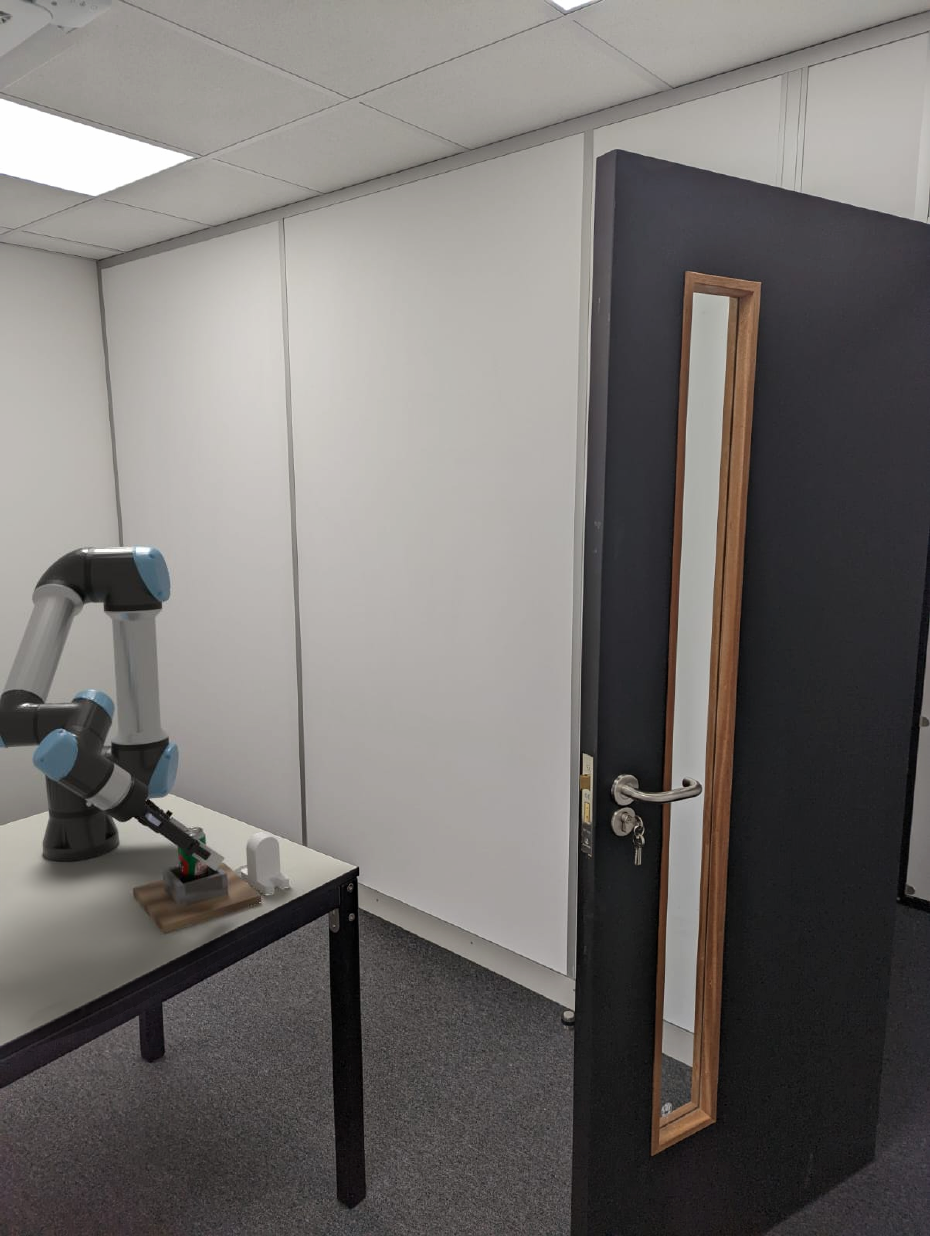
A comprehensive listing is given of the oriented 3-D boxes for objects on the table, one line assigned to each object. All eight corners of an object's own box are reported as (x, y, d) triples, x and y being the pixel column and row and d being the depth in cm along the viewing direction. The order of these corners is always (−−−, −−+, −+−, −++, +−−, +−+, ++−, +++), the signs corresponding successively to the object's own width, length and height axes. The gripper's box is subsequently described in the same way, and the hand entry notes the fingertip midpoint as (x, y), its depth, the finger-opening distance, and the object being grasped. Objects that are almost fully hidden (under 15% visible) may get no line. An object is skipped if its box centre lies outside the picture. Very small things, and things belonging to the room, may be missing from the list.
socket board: (133, 895, 165) (131, 868, 164) (223, 869, 176) (222, 843, 175) (164, 933, 151) (162, 904, 150) (261, 902, 162) (259, 875, 161)
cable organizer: (263, 871, 175) (261, 824, 173) (290, 887, 168) (288, 838, 166) (240, 879, 171) (237, 832, 170) (266, 896, 164) (264, 846, 163)
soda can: (201, 898, 160) (196, 837, 158) (176, 897, 161) (171, 835, 159) (214, 886, 165) (209, 826, 163) (189, 884, 166) (185, 825, 164)
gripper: (84, 791, 161) (170, 846, 172) (124, 833, 141) (218, 893, 152) (112, 758, 163) (195, 815, 174) (154, 795, 143) (245, 856, 155)
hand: (205, 851), depth 163 cm, fingers open, 13 cm apart
